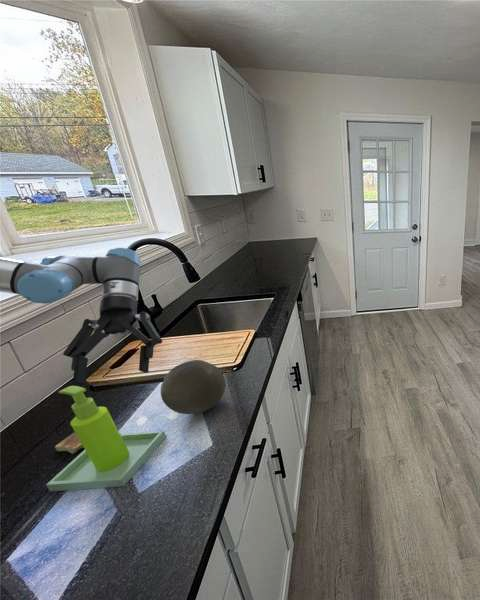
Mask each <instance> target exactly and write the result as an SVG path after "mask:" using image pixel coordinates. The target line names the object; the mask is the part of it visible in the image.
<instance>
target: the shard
mask: <svg viewBox="0 0 480 600" xmlns="http://www.w3.org/2000/svg"><path fill="white" fill-rule="evenodd" d="M54 449H55V450H56V451H57V452H68V453H70V454H73V455H75V454H76V453H77V452H78V451H80V450H81V449H84V447H83V445H82V443H81V442H80V440H79V438H78V436H77V435H76V433H75V431H74V432H72V433H71V434H70V435H68V436H67V437H65V438H64V439H63V440H61V441H60V442H58V443H57V444H55V446H54Z"/></svg>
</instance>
